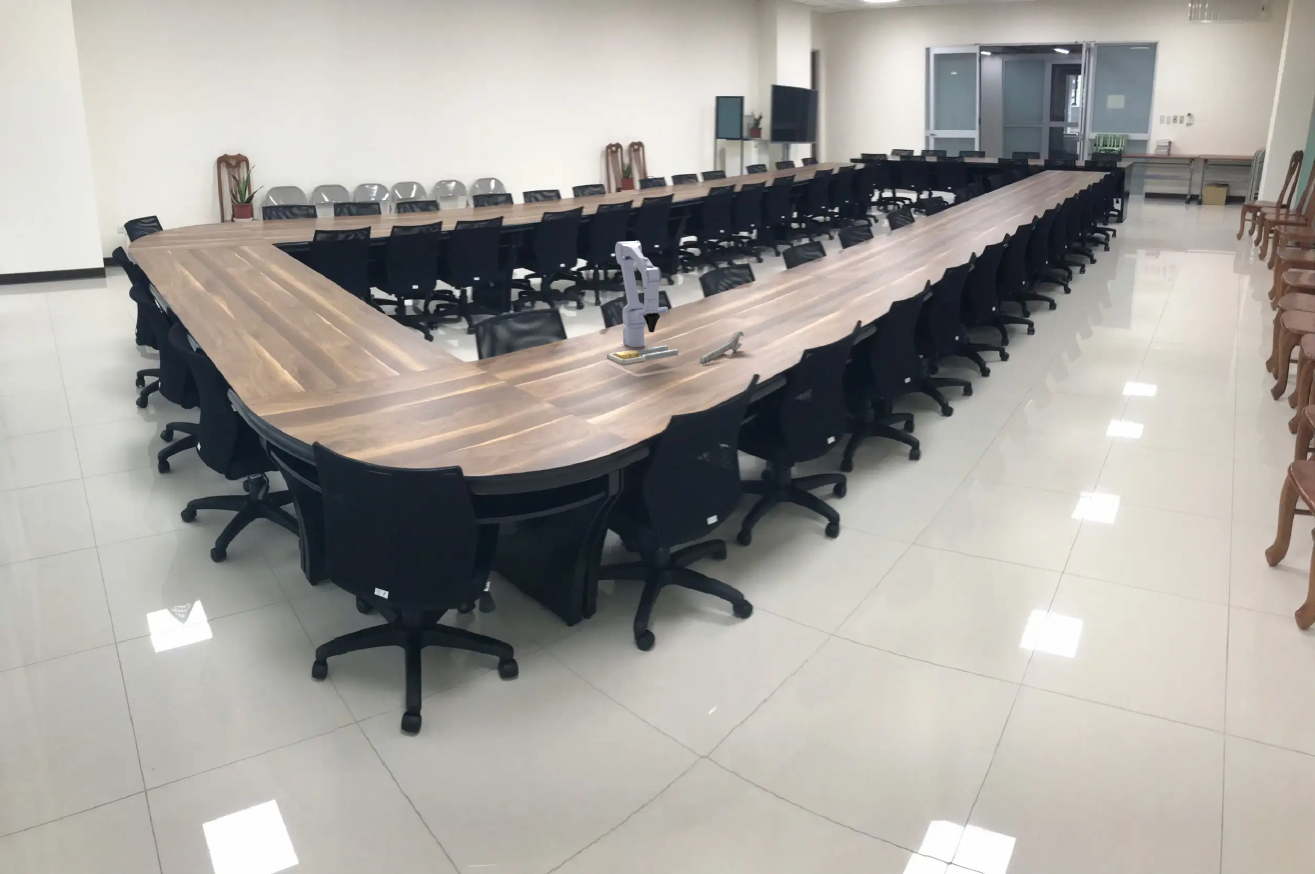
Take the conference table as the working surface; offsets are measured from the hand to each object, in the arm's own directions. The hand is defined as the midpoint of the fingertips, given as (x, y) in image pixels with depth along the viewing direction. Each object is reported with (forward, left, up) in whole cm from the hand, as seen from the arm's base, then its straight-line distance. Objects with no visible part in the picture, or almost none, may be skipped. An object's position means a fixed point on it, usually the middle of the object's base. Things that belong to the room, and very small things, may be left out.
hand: (651, 331), depth 366 cm
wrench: (+15, +24, -11) cm, 31 cm away
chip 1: (+1, -14, -10) cm, 17 cm away
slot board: (0, +1, -10) cm, 10 cm away
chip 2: (0, -9, -10) cm, 14 cm away
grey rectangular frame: (0, -12, -10) cm, 16 cm away
